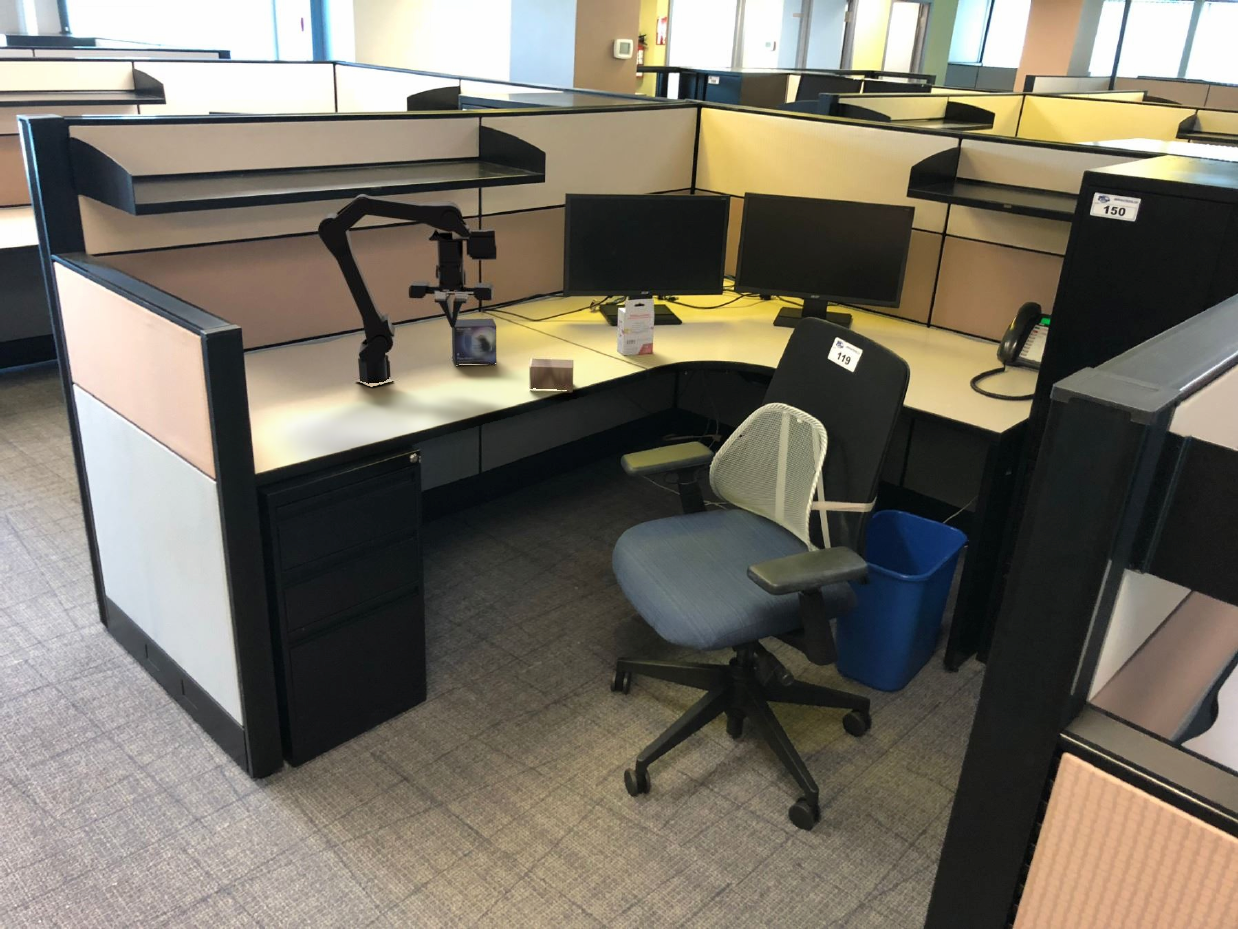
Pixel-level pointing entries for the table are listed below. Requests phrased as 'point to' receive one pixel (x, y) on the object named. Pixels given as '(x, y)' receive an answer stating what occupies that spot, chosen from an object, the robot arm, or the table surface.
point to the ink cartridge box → (636, 327)
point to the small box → (474, 341)
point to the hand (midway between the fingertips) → (452, 327)
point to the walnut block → (551, 374)
